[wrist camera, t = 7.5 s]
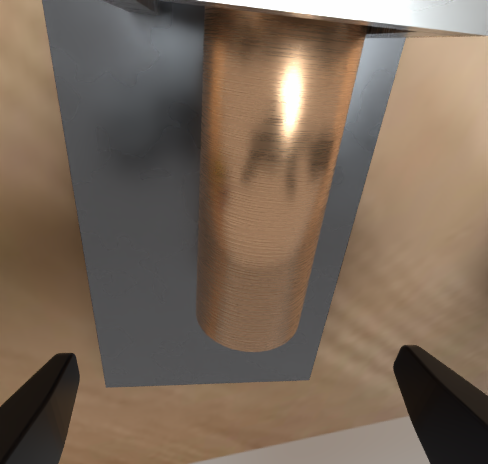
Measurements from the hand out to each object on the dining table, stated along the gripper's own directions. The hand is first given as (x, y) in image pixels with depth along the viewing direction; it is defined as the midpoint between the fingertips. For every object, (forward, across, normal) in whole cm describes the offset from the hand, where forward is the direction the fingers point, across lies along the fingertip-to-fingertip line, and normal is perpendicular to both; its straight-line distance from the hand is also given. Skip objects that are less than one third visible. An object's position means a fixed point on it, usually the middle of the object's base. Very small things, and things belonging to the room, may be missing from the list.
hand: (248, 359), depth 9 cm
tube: (+8, 0, -5) cm, 9 cm away
